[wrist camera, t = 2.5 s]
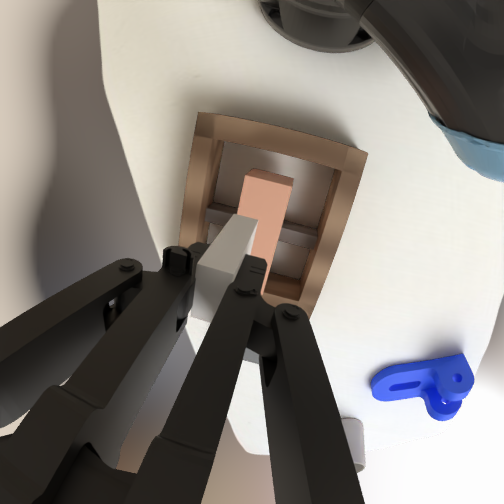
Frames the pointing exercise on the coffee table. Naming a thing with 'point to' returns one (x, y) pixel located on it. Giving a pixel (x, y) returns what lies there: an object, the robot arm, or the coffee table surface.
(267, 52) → the coffee table surface
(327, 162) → the brown wooden frame
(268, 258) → the terracotta block
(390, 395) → the bracket
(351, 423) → the mug
